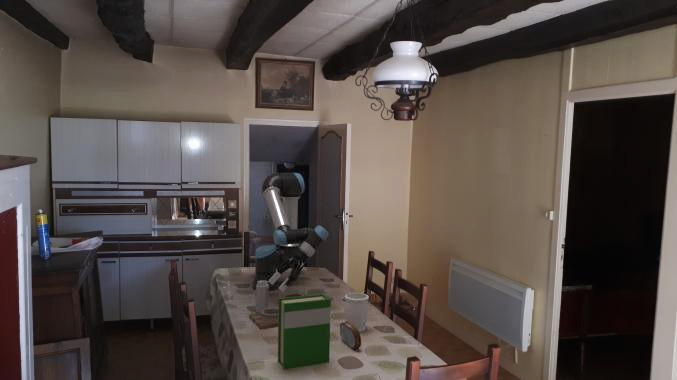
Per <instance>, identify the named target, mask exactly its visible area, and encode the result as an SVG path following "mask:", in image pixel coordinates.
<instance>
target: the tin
mask: <svg viewBox="0 0 677 380" xmlns="http://www.w3.org/2000/svg"><path fill="white" fill-rule="evenodd" d="M339 333H340V334H339V335H340V337H341V340H342V341H343V343H344V344H346V345H347V346H348V347H349V348H350V349H352V350H356V349H360V348H361V346H362V337H361V334H360V333H361V332H359V331H358V329H357V328H356V327H355V326H353V325H352V324H351V323H349V322H348V321H346V320H345V321H343V322H341V323H340V325H339Z"/></svg>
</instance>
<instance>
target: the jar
mask: <svg viewBox="0 0 677 380" xmlns="http://www.w3.org/2000/svg"><path fill="white" fill-rule="evenodd" d="M369 297H370V296H369V295H368V294H365V293H361V292H360V293H359V292H352V293H350V292H349V293H347V294H345V296H344V299H345V301H344V302H345V303H344V317H345V322H346V321H348V322H349V323H351V324H352V325H353V326H355V327H356V328H357V329H358V331H359V333H363V332H365V330H366V324H367V320H368V316H369V301H368V300H369V299H370V298H369Z"/></svg>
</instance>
